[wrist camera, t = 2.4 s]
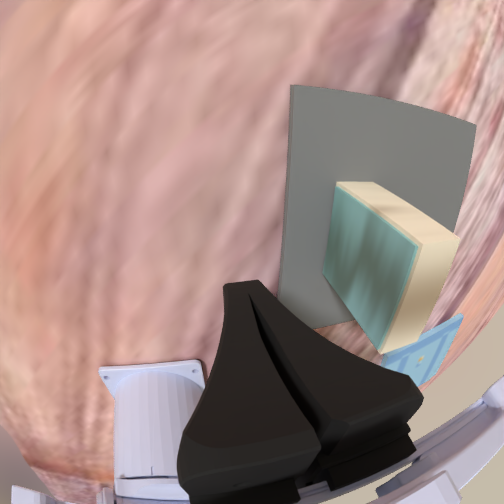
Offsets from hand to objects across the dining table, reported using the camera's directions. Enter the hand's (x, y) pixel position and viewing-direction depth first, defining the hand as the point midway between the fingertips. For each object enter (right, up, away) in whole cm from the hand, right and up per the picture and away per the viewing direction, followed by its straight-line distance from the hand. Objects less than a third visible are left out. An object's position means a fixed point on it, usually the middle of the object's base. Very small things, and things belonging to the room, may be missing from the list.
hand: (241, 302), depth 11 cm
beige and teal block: (+6, +3, +6) cm, 9 cm away
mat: (+9, +4, +7) cm, 12 cm away
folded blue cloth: (+20, -12, +20) cm, 31 cm away
